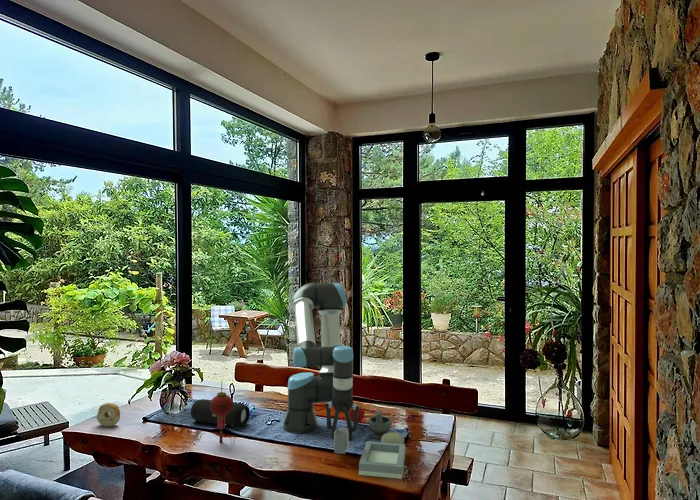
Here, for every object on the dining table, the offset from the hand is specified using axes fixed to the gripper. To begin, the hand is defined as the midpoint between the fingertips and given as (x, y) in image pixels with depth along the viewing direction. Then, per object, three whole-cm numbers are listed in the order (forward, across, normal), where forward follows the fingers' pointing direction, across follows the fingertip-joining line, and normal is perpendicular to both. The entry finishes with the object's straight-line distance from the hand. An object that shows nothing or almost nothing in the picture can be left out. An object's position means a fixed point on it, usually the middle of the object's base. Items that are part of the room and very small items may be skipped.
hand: (341, 448), depth 178 cm
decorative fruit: (+4, 0, +34) cm, 34 cm away
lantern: (+4, -51, +3) cm, 51 cm away
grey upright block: (0, 0, 0) cm, 0 cm away
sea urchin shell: (+4, +18, +14) cm, 24 cm away
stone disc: (+5, -108, +11) cm, 108 cm away
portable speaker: (+5, -61, +23) cm, 65 cm away
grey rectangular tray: (+3, +16, -4) cm, 17 cm away
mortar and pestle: (+4, +12, +22) cm, 26 cm away
